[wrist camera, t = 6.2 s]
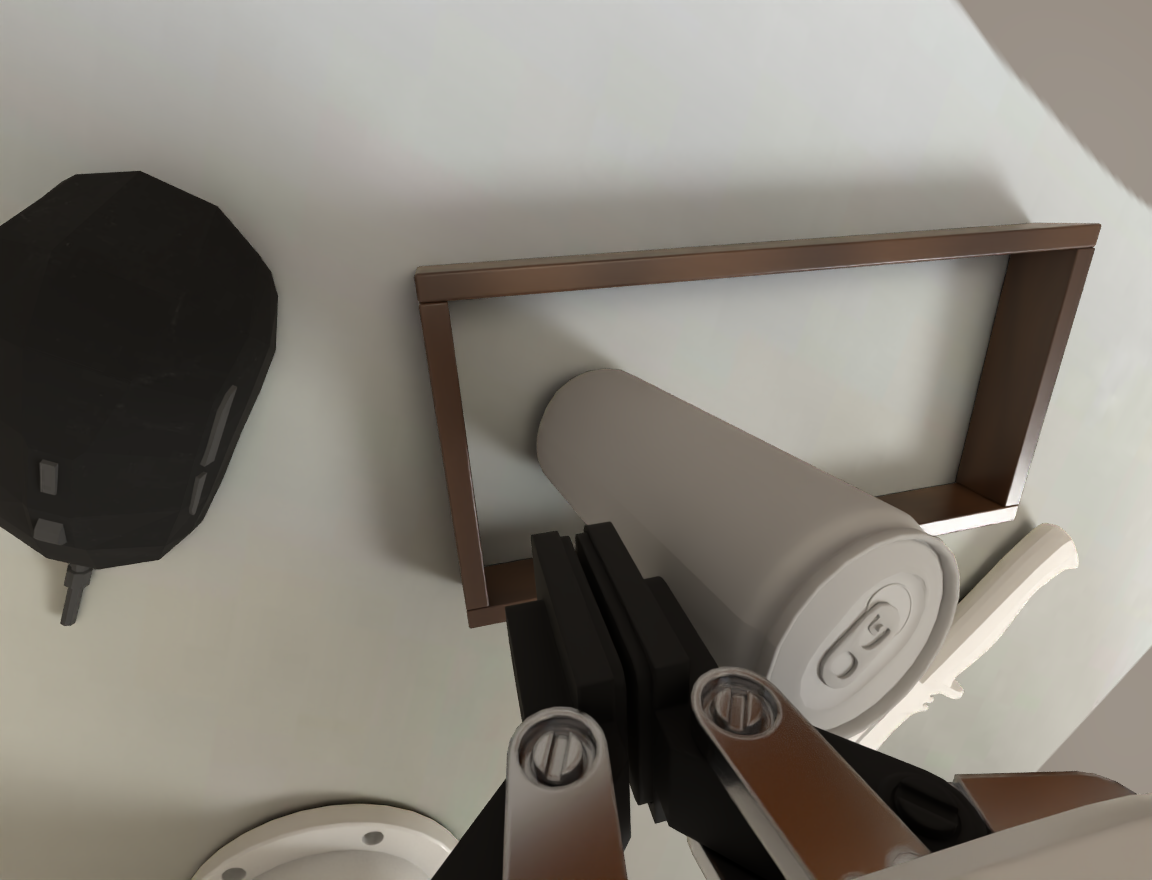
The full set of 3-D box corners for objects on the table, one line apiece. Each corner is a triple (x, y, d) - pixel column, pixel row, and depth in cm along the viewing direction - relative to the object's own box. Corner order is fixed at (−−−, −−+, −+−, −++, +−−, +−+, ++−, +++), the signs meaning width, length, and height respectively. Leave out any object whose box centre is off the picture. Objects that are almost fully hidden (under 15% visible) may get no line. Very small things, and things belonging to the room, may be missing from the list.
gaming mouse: (-48, 595, 17) (-175, 694, 14) (55, 126, 14) (-78, 94, 10) (176, 638, 20) (118, 732, 16) (314, 245, 16) (280, 253, 13)
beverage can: (673, 423, 21) (991, 610, 11) (586, 513, 21) (826, 786, 11) (599, 336, 19) (920, 469, 9) (501, 436, 19) (707, 696, 8)
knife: (774, 930, 36) (688, 919, 33) (761, 901, 37) (677, 888, 34) (1135, 586, 29) (1071, 531, 26) (1102, 567, 31) (1037, 513, 27)
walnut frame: (465, 586, 22) (469, 629, 19) (416, 266, 17) (413, 273, 15) (965, 494, 26) (1015, 520, 24) (1033, 222, 22) (1103, 223, 19)
